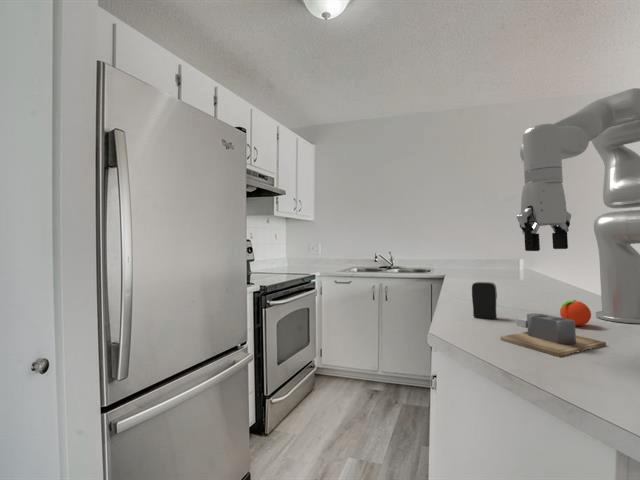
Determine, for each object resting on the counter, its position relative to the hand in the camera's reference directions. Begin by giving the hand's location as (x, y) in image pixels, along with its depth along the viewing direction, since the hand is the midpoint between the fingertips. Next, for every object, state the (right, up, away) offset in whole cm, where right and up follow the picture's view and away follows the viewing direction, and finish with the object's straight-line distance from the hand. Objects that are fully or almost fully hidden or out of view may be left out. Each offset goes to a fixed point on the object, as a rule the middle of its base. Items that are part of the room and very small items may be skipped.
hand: (546, 249), depth 79 cm
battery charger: (-1, -23, +27) cm, 35 cm away
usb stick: (0, -21, +1) cm, 21 cm away
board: (+1, -22, 0) cm, 22 cm away
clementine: (+17, -22, +13) cm, 31 cm away
